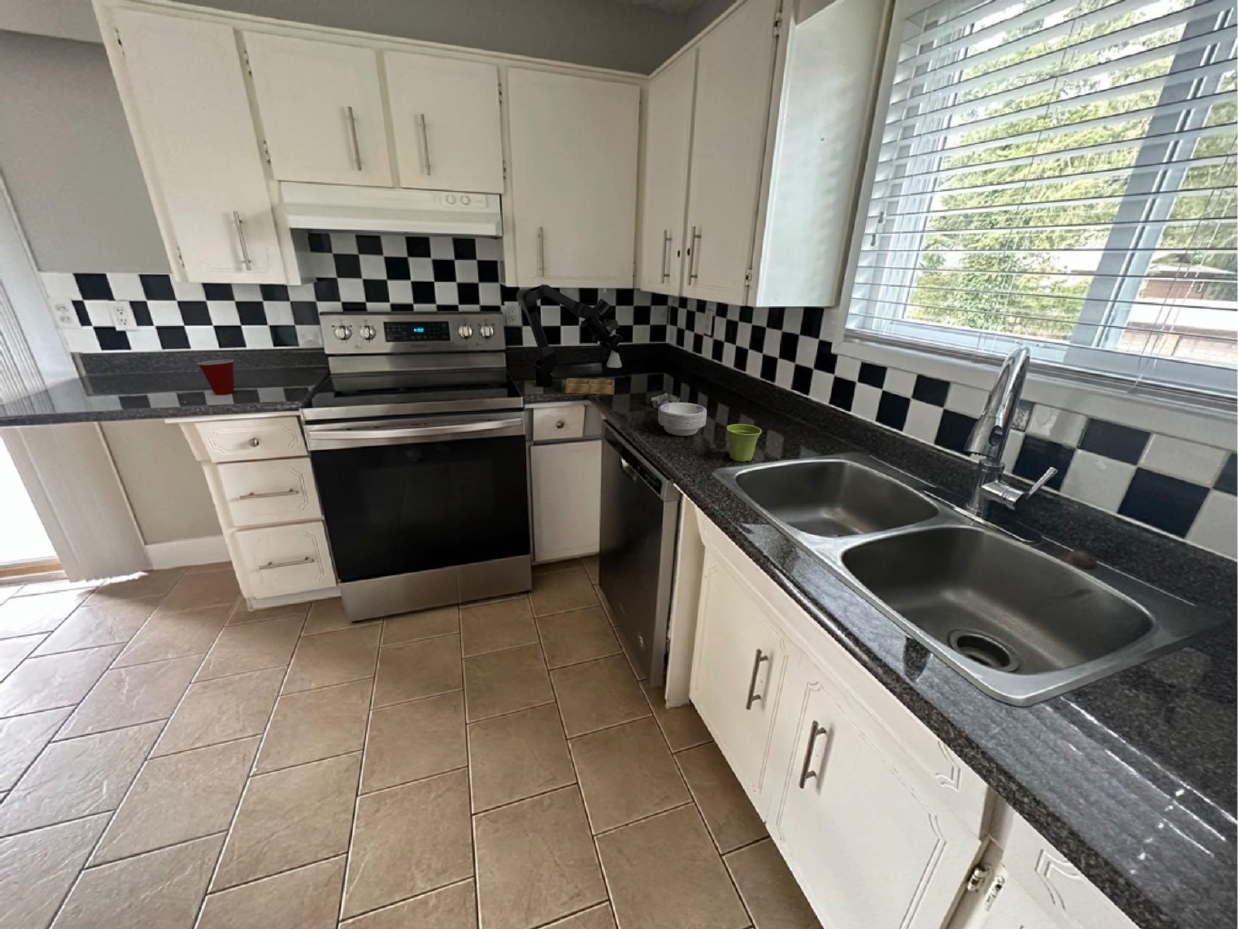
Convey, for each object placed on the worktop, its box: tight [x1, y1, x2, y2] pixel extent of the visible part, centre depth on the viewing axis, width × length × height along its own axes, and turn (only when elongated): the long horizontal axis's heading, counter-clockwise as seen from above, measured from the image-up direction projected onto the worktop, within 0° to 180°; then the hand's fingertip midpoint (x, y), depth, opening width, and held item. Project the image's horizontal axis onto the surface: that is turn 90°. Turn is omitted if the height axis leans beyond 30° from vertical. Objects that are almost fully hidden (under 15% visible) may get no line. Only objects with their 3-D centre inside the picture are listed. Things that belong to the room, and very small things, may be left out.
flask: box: [605, 350, 623, 369], centre depth 225 cm, size 7×7×10 cm
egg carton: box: [651, 392, 681, 409], centre depth 188 cm, size 11×8×4 cm
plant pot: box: [726, 423, 763, 463], centre depth 139 cm, size 9×9×9 cm
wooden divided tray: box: [564, 377, 615, 395], centre depth 206 cm, size 20×10×4 cm, turn 91°
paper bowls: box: [657, 402, 708, 437], centre depth 159 cm, size 15×15×8 cm
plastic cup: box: [196, 358, 235, 396], centre depth 182 cm, size 11×11×12 cm
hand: (617, 351), depth 225 cm, fingers closed on flask, 3 cm apart
